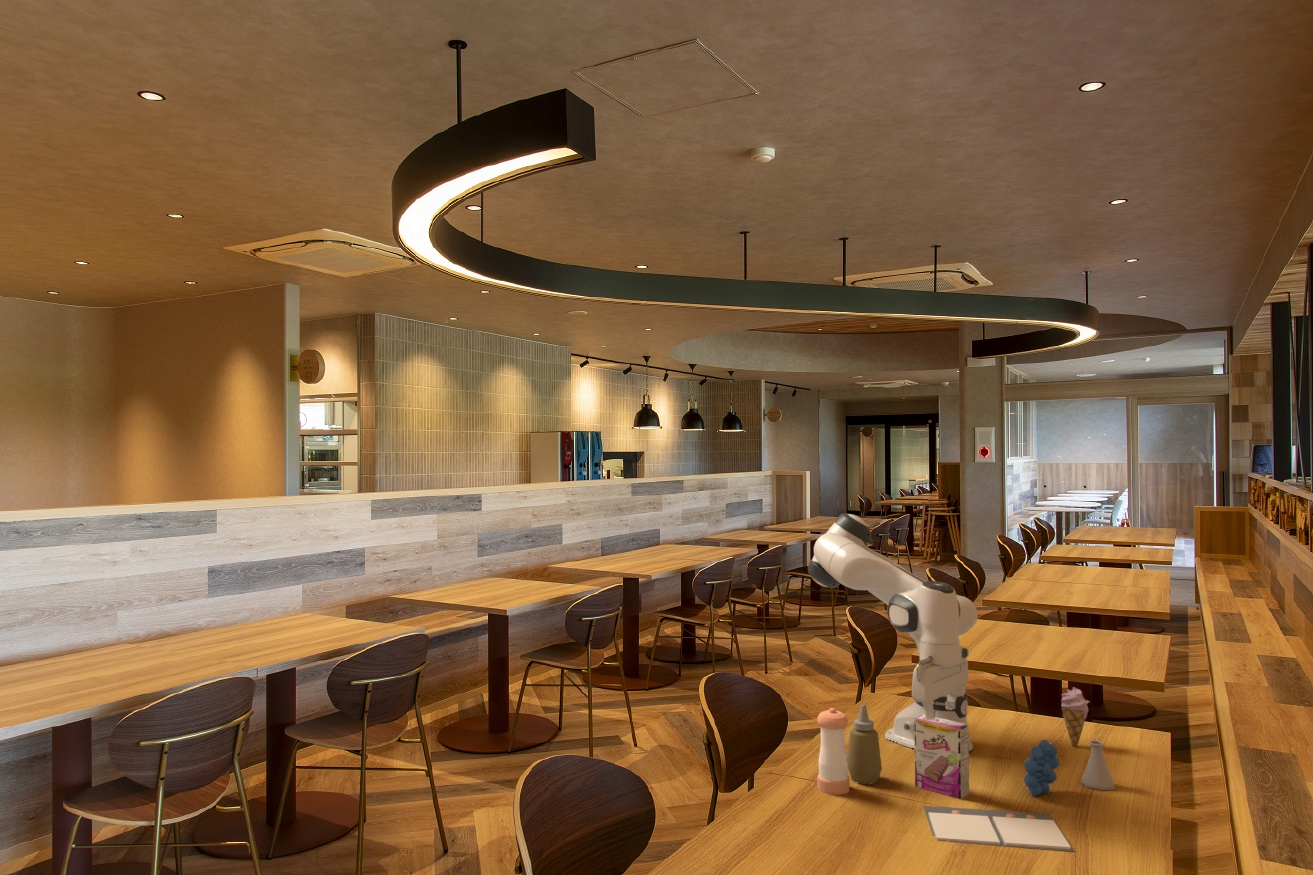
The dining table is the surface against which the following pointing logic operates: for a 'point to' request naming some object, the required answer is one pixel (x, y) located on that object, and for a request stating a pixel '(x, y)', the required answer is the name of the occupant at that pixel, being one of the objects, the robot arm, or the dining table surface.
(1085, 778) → the flask
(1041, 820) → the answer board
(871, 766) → the squeeze bottle
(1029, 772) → the grapes
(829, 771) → the pepper shaker
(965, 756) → the candy bar box
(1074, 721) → the ice cream cone
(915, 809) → the dining table surface
